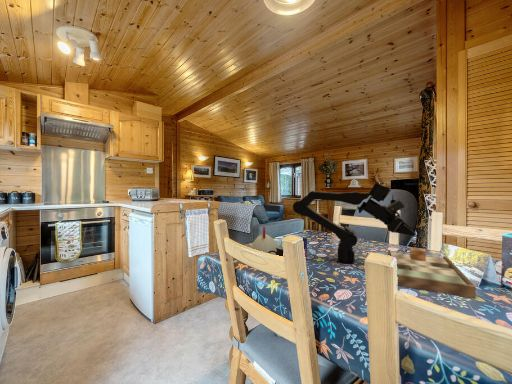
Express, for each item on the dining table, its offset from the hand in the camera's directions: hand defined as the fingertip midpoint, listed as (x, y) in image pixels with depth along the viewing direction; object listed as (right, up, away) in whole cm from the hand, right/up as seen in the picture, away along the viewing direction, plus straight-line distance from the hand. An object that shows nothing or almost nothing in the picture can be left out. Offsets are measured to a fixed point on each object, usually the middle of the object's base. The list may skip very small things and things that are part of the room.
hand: (412, 231), depth 94 cm
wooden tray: (+1, -15, -4) cm, 16 cm away
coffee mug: (-53, -16, -2) cm, 55 cm away
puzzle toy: (-46, -15, +10) cm, 50 cm away
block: (+6, -13, +6) cm, 15 cm away
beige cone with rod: (-60, -15, +14) cm, 64 cm away
